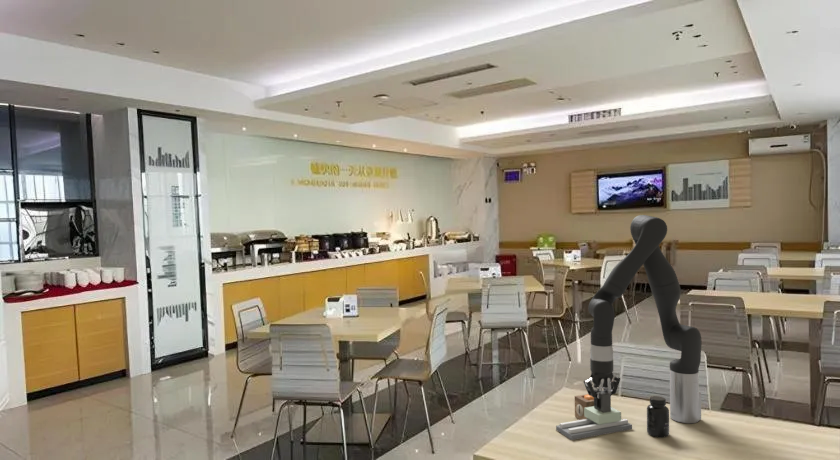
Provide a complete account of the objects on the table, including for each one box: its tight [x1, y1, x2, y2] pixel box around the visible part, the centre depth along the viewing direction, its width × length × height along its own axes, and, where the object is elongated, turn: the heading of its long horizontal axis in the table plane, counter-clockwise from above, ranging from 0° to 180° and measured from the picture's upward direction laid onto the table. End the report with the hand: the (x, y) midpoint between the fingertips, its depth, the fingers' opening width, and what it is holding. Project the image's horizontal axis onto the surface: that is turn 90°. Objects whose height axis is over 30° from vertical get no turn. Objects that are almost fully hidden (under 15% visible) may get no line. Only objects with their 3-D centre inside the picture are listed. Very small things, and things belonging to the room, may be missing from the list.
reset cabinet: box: [574, 393, 594, 420], centre depth 196 cm, size 9×7×8 cm
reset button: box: [583, 393, 594, 400], centre depth 196 cm, size 4×4×4 cm
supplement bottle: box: [646, 395, 670, 438], centre depth 181 cm, size 7×7×12 cm
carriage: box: [584, 389, 622, 424], centre depth 187 cm, size 9×8×9 cm
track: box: [555, 418, 633, 441], centre depth 186 cm, size 24×9×3 cm, turn 109°
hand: (602, 407), depth 187 cm, fingers closed on carriage, 3 cm apart
